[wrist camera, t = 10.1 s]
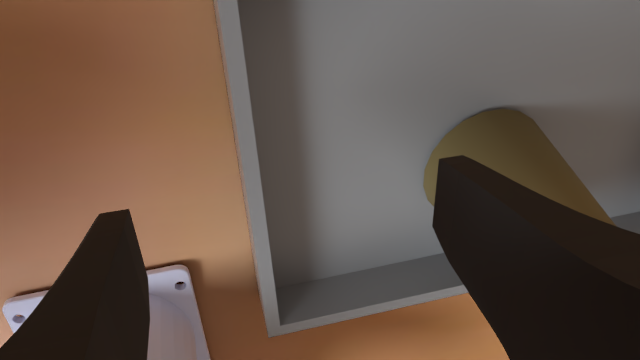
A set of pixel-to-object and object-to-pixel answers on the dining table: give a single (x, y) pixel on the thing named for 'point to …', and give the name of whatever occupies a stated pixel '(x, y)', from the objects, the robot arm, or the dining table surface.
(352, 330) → the dining table surface
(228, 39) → the box
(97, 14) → the dining table surface
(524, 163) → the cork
